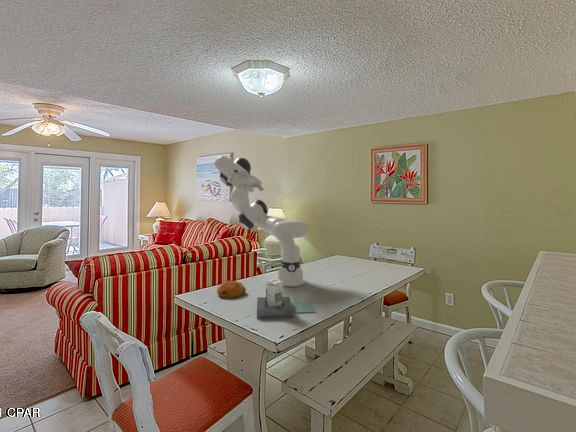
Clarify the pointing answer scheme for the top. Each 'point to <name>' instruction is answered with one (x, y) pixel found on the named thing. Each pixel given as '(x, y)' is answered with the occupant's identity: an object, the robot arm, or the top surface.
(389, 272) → the top surface
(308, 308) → the rubber mat
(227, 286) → the croissant
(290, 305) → the iron collar
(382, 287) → the top surface
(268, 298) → the syrup box
